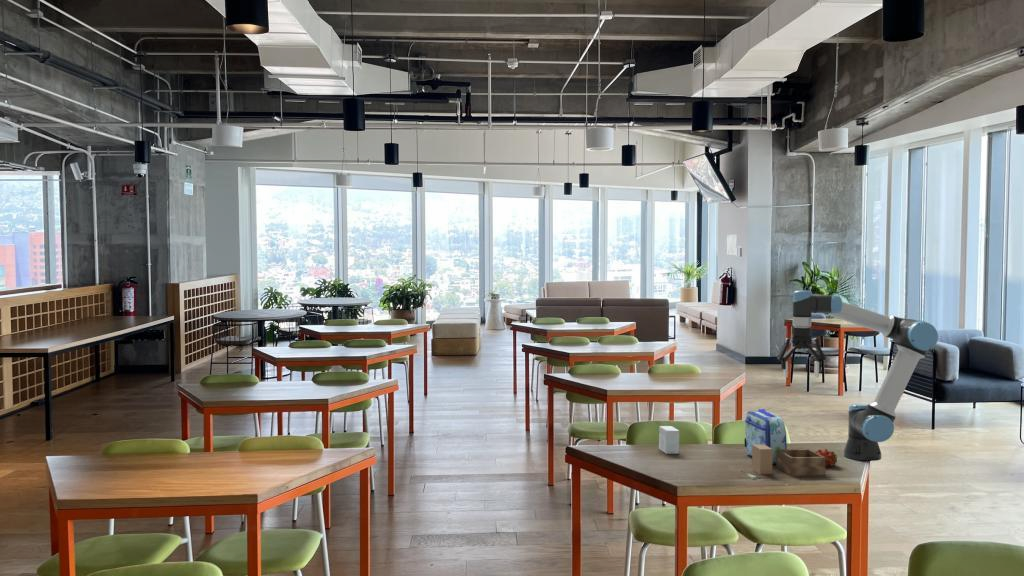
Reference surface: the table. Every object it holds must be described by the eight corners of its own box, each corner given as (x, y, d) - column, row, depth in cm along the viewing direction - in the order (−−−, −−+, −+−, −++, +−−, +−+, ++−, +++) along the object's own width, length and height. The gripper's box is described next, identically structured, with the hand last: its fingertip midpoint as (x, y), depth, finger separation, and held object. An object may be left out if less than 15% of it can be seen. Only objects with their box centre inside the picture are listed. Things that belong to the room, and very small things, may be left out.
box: (809, 468, 329) (809, 449, 328) (824, 477, 315) (825, 457, 314) (776, 468, 327) (776, 449, 327) (790, 478, 313) (791, 458, 313)
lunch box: (741, 452, 355) (742, 406, 354) (765, 452, 356) (766, 406, 355) (763, 467, 329) (764, 417, 328) (788, 467, 330) (789, 417, 329)
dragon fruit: (839, 472, 329) (811, 476, 328) (831, 456, 335) (803, 460, 335) (843, 458, 323) (814, 463, 323) (834, 443, 330) (806, 447, 330)
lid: (771, 469, 327) (771, 442, 327) (786, 478, 314) (786, 450, 313) (738, 470, 326) (738, 443, 326) (752, 479, 312) (752, 451, 312)
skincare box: (679, 453, 353) (680, 430, 352) (665, 454, 352) (666, 430, 352) (672, 448, 363) (672, 425, 363) (658, 448, 362) (658, 425, 362)
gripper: (826, 326, 340) (825, 375, 341) (769, 326, 338) (768, 375, 339) (834, 327, 333) (833, 377, 333) (776, 327, 331) (776, 378, 332)
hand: (801, 376), depth 336 cm, fingers open, 13 cm apart
